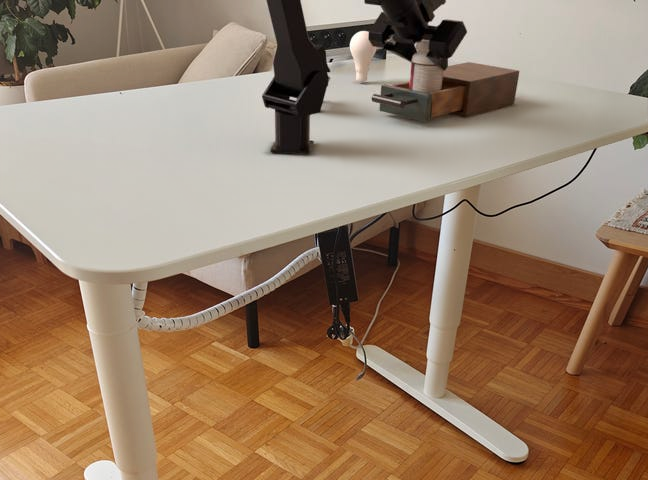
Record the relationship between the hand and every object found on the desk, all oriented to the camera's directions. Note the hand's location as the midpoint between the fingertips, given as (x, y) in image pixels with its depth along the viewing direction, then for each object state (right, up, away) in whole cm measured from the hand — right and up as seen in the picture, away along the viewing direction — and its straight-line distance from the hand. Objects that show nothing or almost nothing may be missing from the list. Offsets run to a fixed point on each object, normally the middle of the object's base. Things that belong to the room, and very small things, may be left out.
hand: (432, 65), depth 129 cm
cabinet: (+9, -3, +12) cm, 15 cm away
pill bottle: (-1, -6, +3) cm, 7 cm away
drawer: (-2, -8, +3) cm, 8 cm away
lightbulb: (-11, +9, +30) cm, 33 cm away
